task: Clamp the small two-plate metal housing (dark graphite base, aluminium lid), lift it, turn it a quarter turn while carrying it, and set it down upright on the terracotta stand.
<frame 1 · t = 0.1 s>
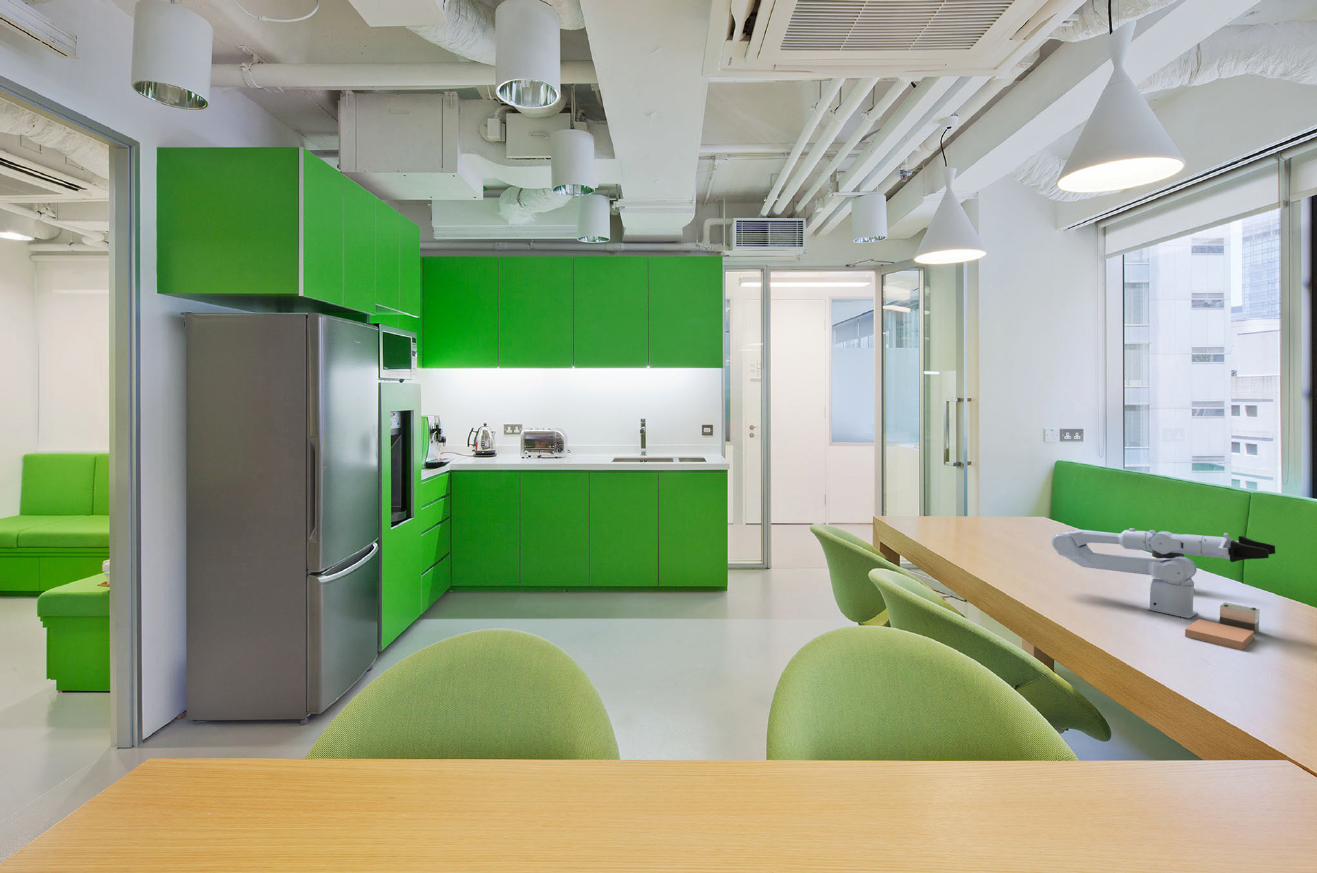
hand: (1271, 551, 162), 22 cm above the table, tool horizontal, fingers open, 7 cm apart
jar: (1166, 586, 205), on the table
housing: (1238, 629, 166), on the table
stand: (1219, 637, 160), on the table
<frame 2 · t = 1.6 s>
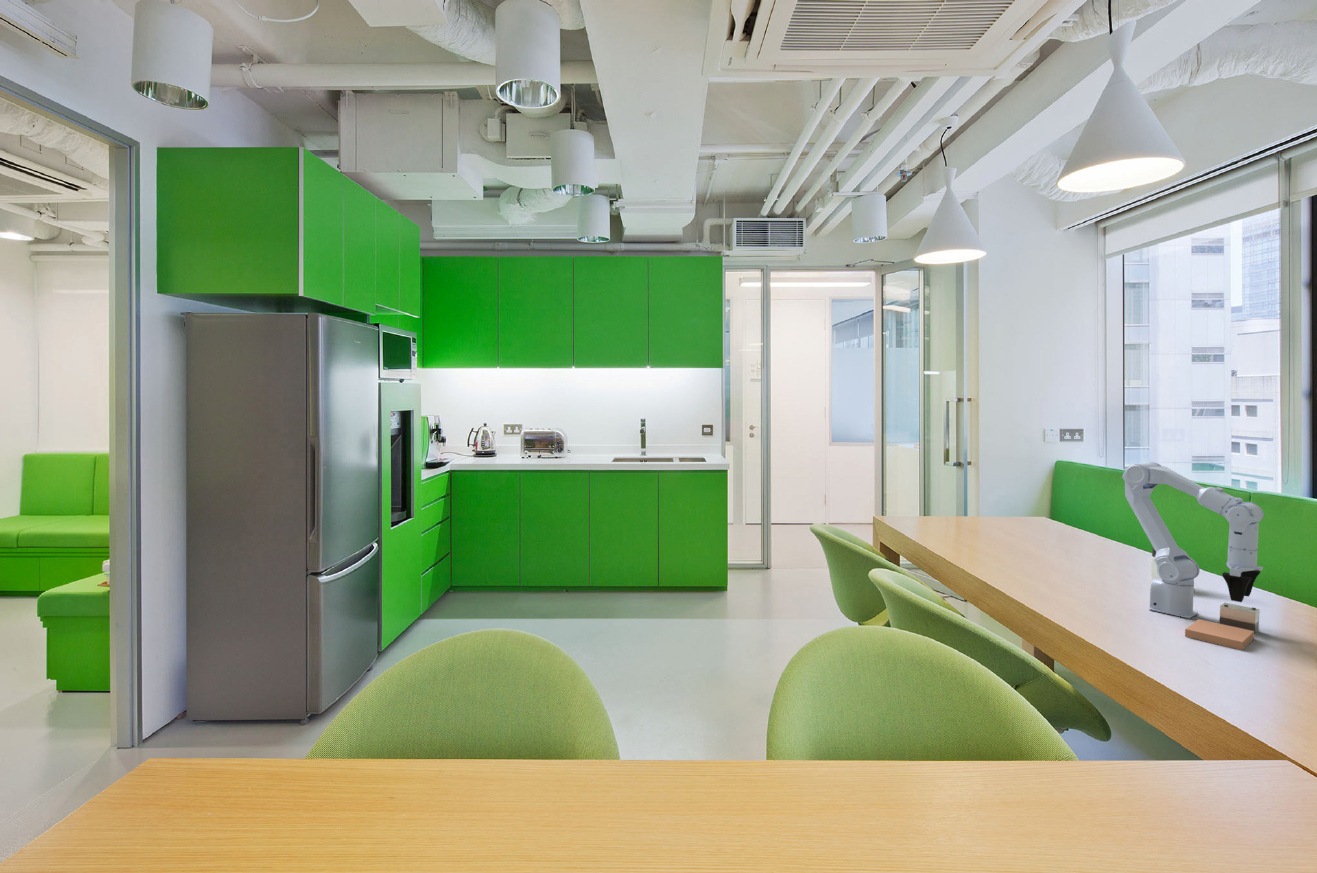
hand: (1240, 598, 166), 8 cm above the table, tool pointing down, fingers open, 7 cm apart
nothing on the table moved.
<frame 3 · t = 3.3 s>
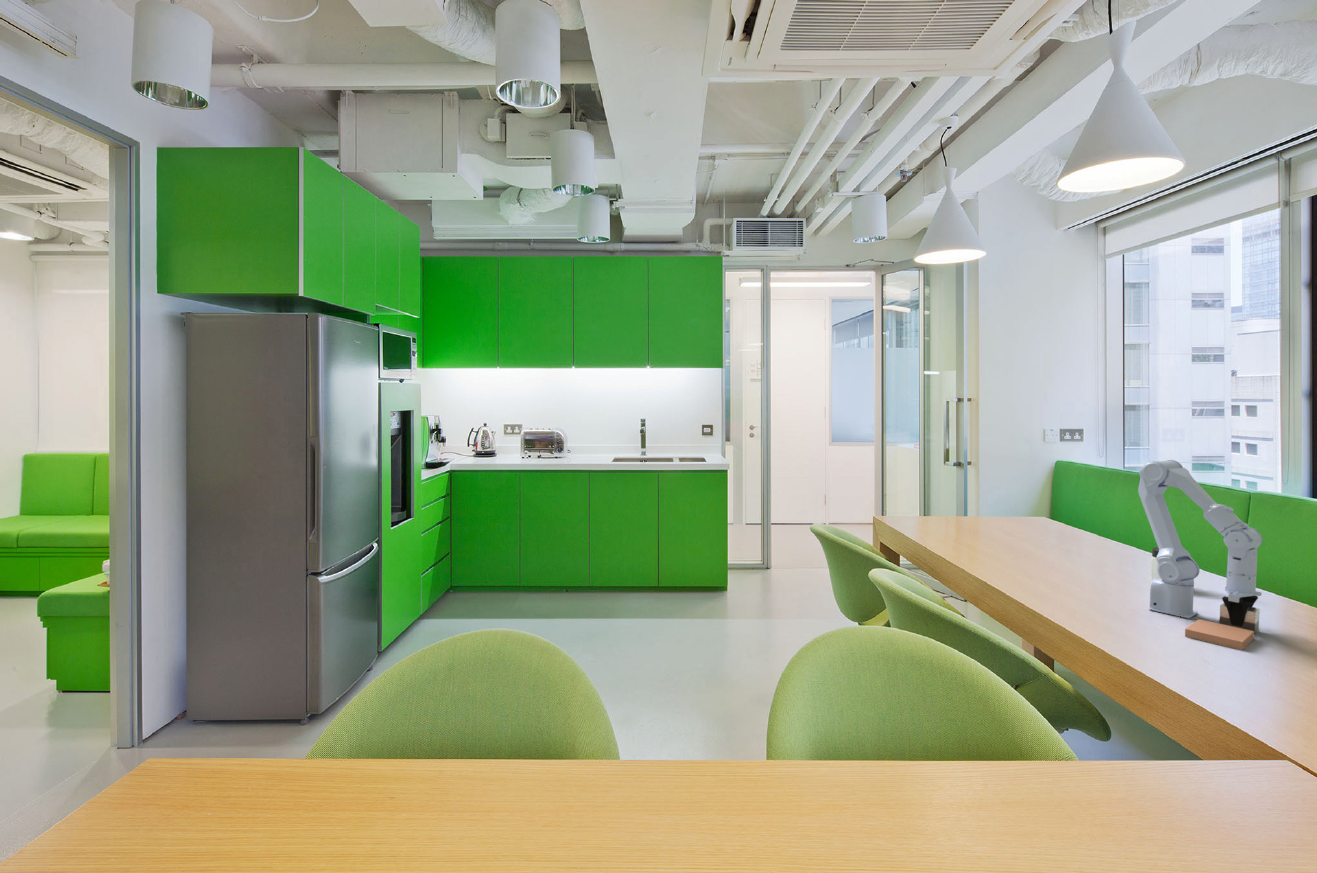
hand: (1239, 623, 166), 2 cm above the table, tool pointing down, fingers closed on housing, 4 cm apart
housing: (1238, 629, 166), on the table, touching gripper
everything else where it was.
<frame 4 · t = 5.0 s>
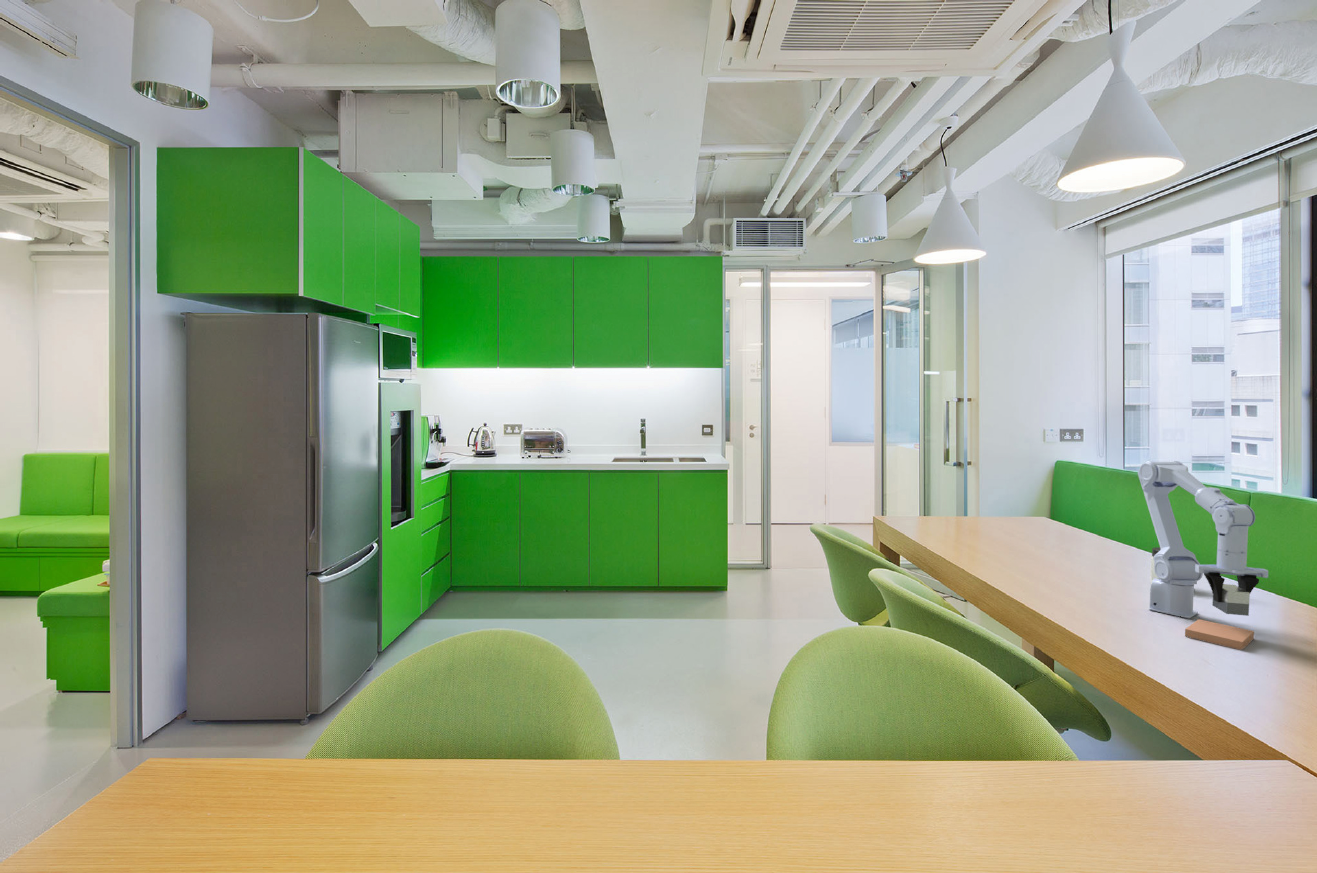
hand: (1229, 602, 162), 9 cm above the table, tool pointing down, fingers closed on housing, 4 cm apart
housing: (1230, 610, 162), point 6 cm above the table, touching gripper
everything else where it was.
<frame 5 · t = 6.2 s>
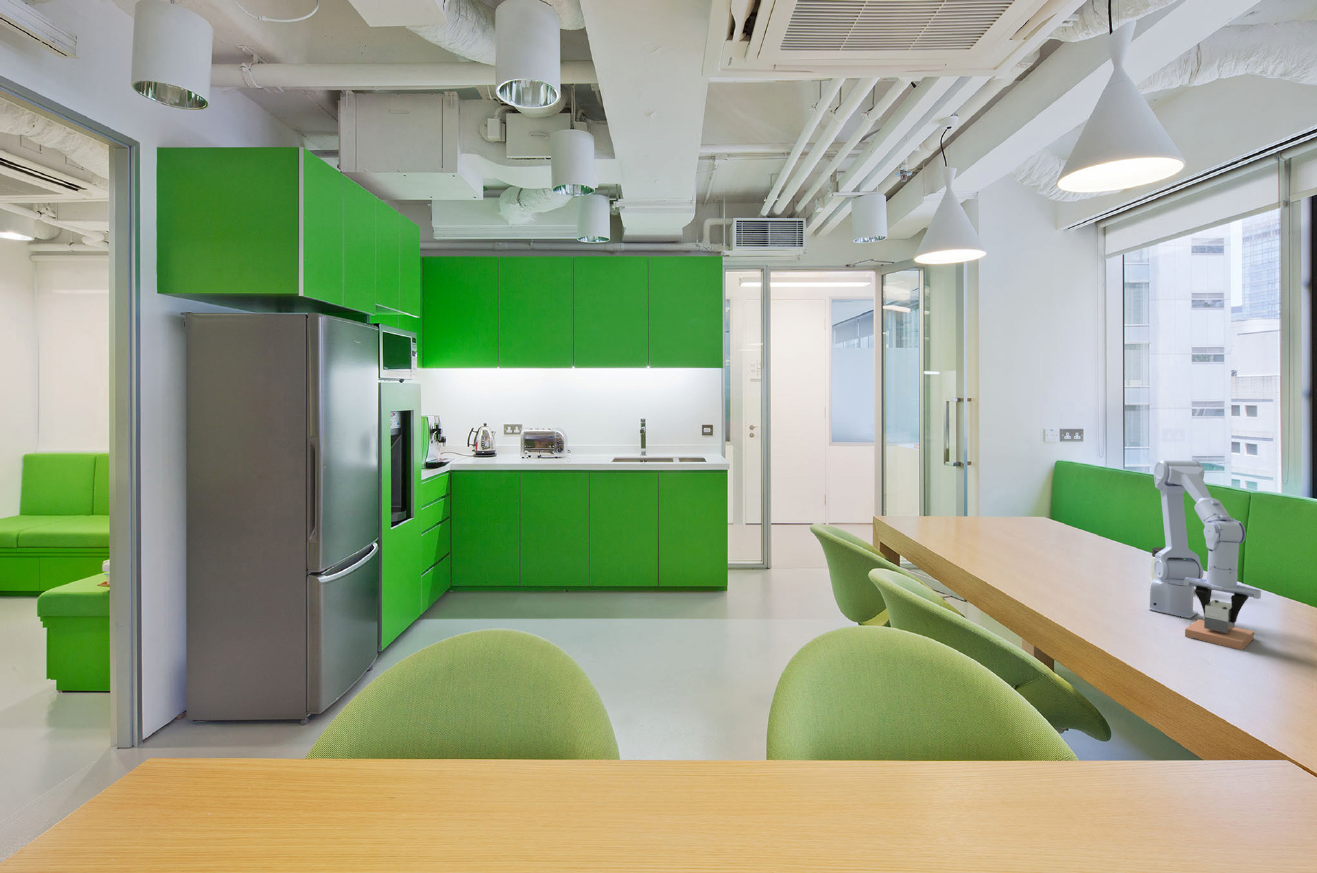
hand: (1220, 619, 160), 5 cm above the table, tool pointing down, fingers closed on housing, 4 cm apart
housing: (1219, 627, 160), point 3 cm above the table, touching gripper
everything else where it was.
when the fingers open (5 cm above the table, at t = 6.8 s): housing stays where it is, resting on stand.
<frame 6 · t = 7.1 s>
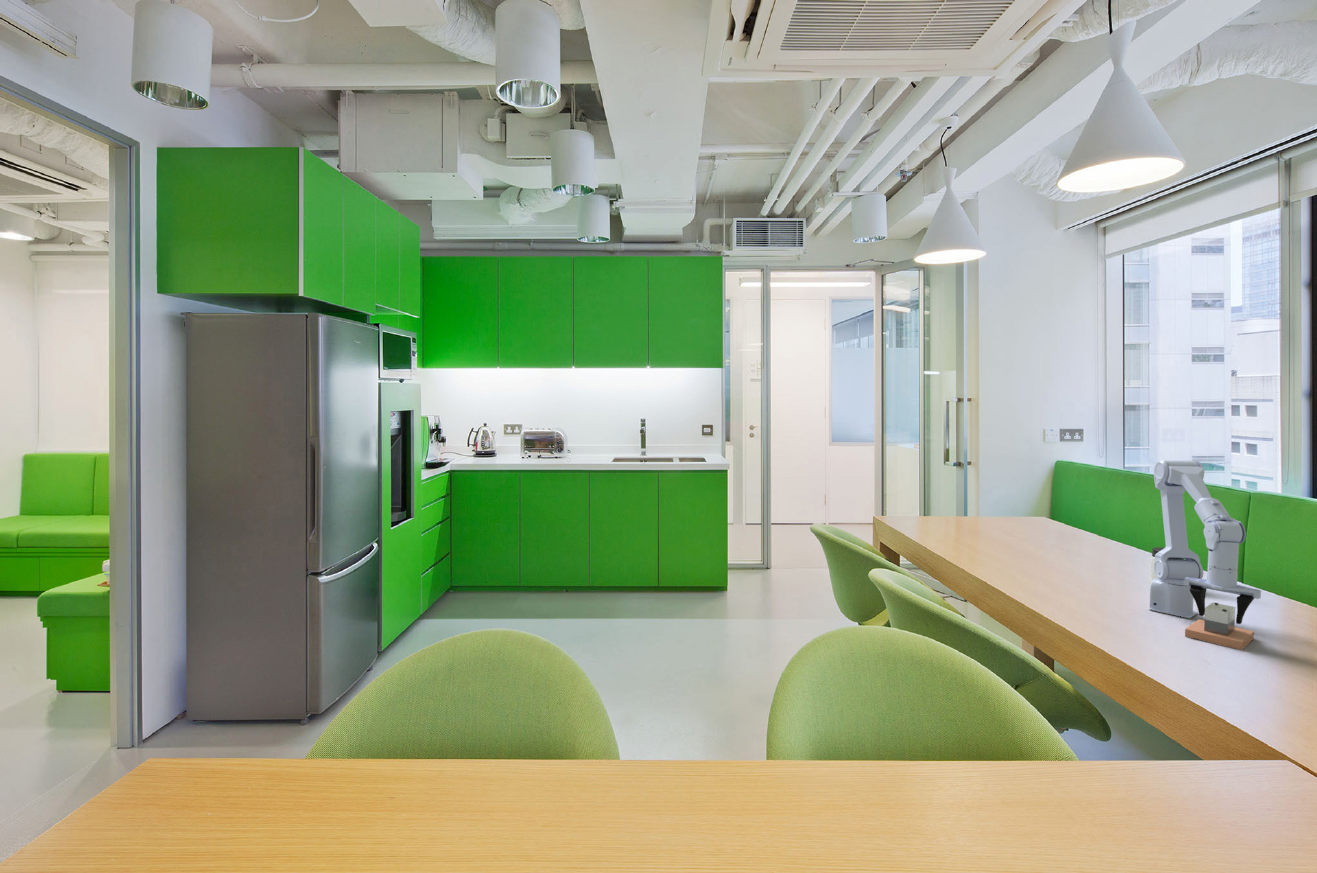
hand: (1220, 619, 160), 5 cm above the table, tool pointing down, fingers open, 7 cm apart
housing: (1219, 630, 160), point 2 cm above the table, touching stand
everything else where it was.
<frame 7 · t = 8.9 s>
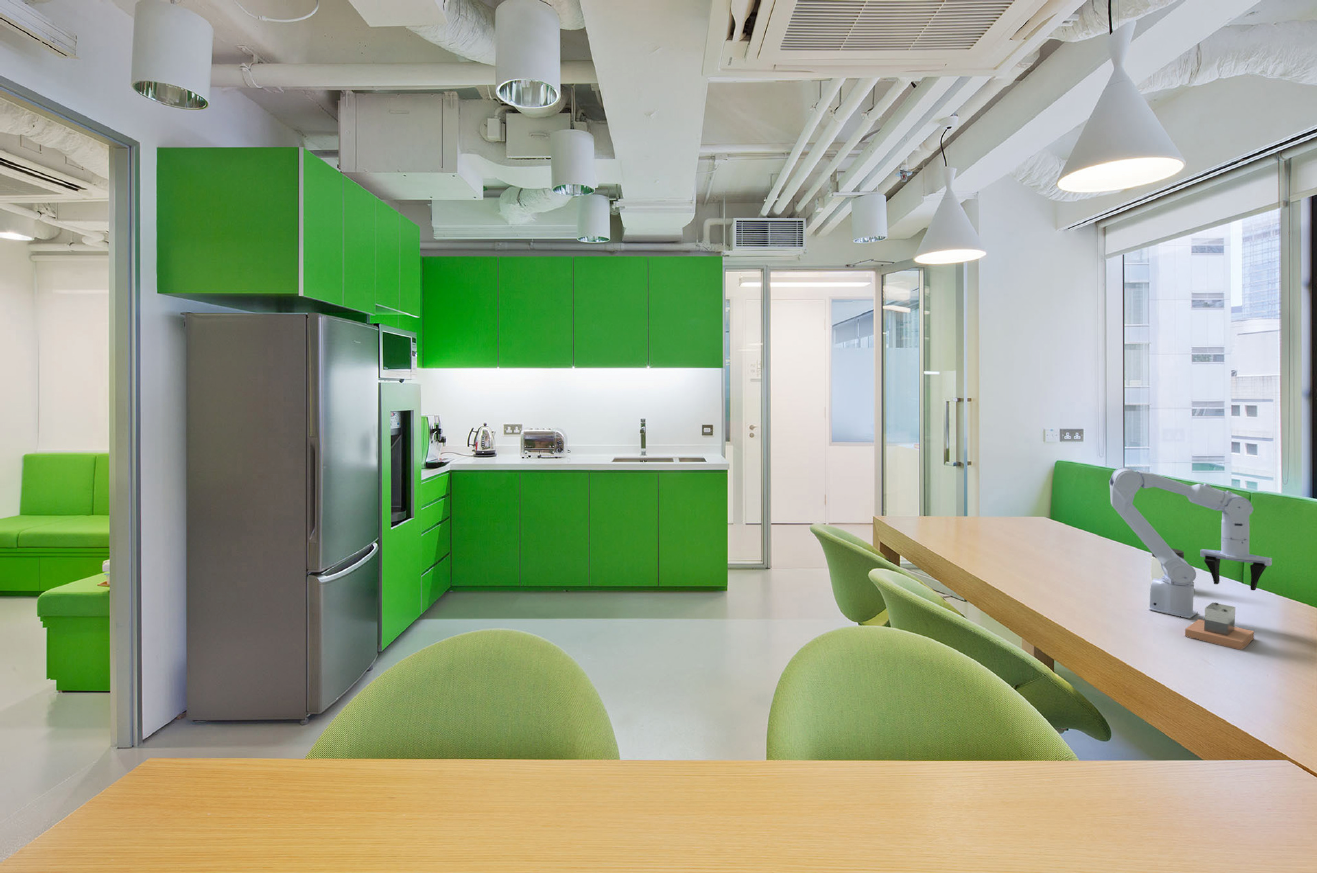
hand: (1234, 586, 172), 9 cm above the table, tool pointing down, fingers open, 7 cm apart
nothing on the table moved.
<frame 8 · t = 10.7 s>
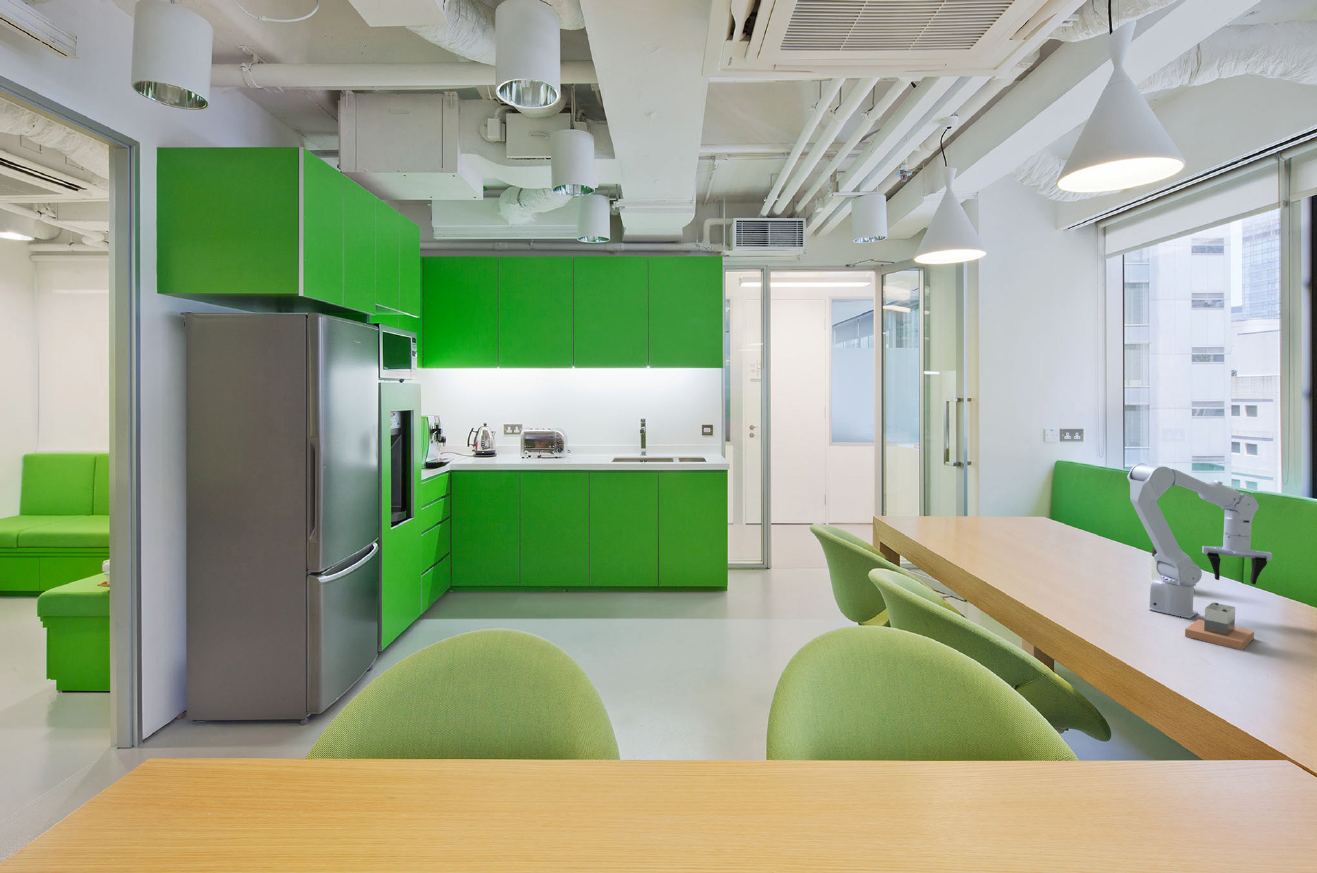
hand: (1234, 581, 178), 9 cm above the table, tool pointing down, fingers open, 7 cm apart
nothing on the table moved.
at the end: housing inside the target area on the stand (0.2 cm from its centre), point 2.0 cm above the stand's base; housing tilted 0°; housing touching stand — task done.
